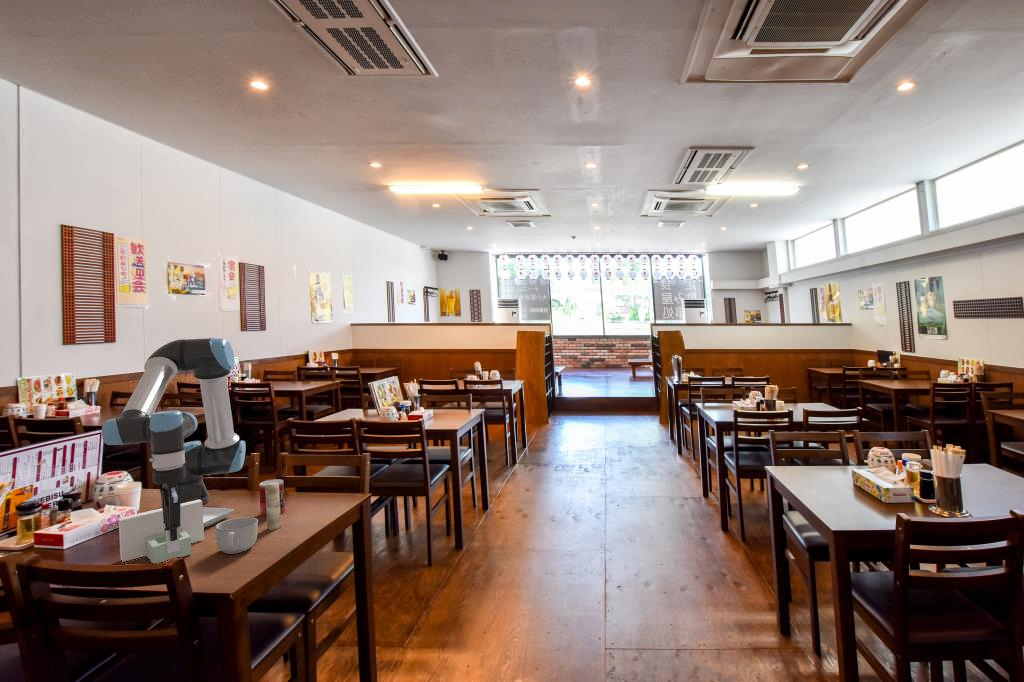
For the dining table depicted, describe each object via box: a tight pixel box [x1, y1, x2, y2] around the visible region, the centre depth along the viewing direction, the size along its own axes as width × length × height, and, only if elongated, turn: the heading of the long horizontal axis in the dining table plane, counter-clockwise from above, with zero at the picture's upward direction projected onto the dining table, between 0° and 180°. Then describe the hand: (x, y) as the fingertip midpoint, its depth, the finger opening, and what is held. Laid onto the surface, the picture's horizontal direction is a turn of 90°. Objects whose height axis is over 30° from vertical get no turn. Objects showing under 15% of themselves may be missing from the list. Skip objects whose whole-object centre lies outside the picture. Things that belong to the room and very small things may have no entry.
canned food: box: [258, 478, 286, 517], centre depth 174 cm, size 8×8×11 cm
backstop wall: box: [118, 499, 205, 563], centre depth 146 cm, size 3×20×12 cm, turn 136°
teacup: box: [215, 516, 259, 555], centre depth 142 cm, size 14×11×8 cm
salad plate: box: [203, 506, 235, 529], centre depth 164 cm, size 21×21×3 cm
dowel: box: [265, 483, 282, 531], centre depth 160 cm, size 4×4×14 cm
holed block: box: [146, 529, 193, 564], centre depth 141 cm, size 9×9×5 cm
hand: (173, 551), depth 138 cm, fingers closed
